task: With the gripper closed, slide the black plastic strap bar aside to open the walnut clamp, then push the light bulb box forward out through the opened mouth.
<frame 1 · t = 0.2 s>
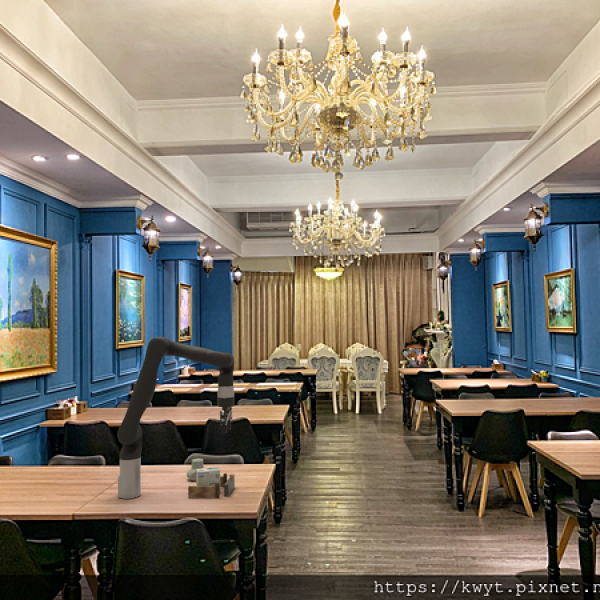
hand: (226, 431, 248), 29 cm above the table, tool pointing down, fingers open, 8 cm apart
air freshener: (197, 480, 275), on the table
strap bar: (229, 484, 252), point 4 cm above the table, slide at 0.0 cm
light bulb box: (208, 492, 252), on the table
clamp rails: (208, 492, 252), on the table
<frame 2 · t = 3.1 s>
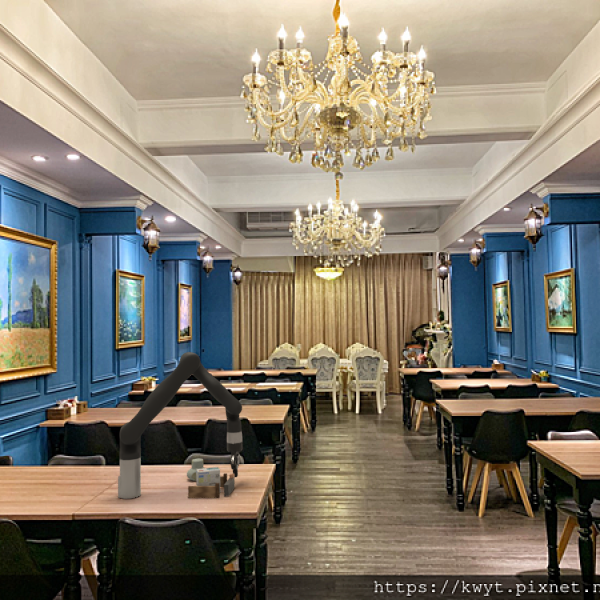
hand: (235, 476, 265), 4 cm above the table, tool pointing down, fingers closed
nothing on the table moved.
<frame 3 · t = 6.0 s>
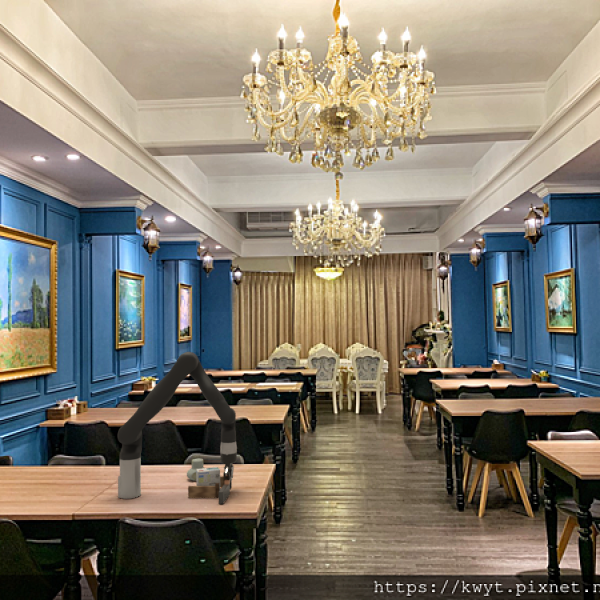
hand: (229, 489, 251), 1 cm above the table, tool pointing down, fingers closed
strap bar: (224, 491, 241), point 4 cm above the table, slide at 11.0 cm, touching hand
everything else where it was.
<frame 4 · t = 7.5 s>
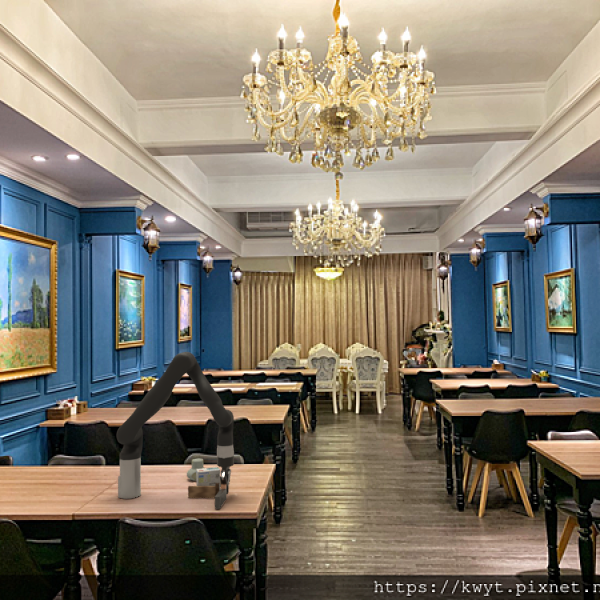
hand: (225, 493, 244), 2 cm above the table, tool pointing down, fingers closed
strap bar: (220, 496, 234), point 4 cm above the table, slide at 18.1 cm, touching hand
everything else where it was.
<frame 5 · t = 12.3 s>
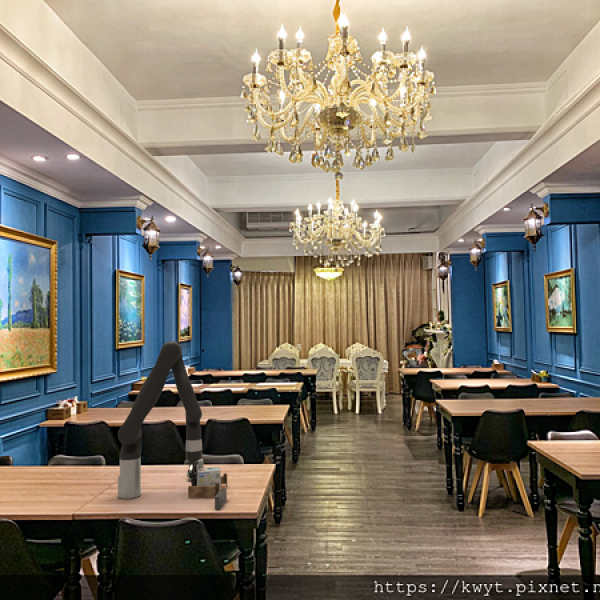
hand: (194, 486, 253), 3 cm above the table, tool pointing down, fingers closed
strap bar: (220, 496, 234), point 4 cm above the table, slide at 18.0 cm
light bulb box: (208, 492, 252), on the table, touching gripper
everything else where it was.
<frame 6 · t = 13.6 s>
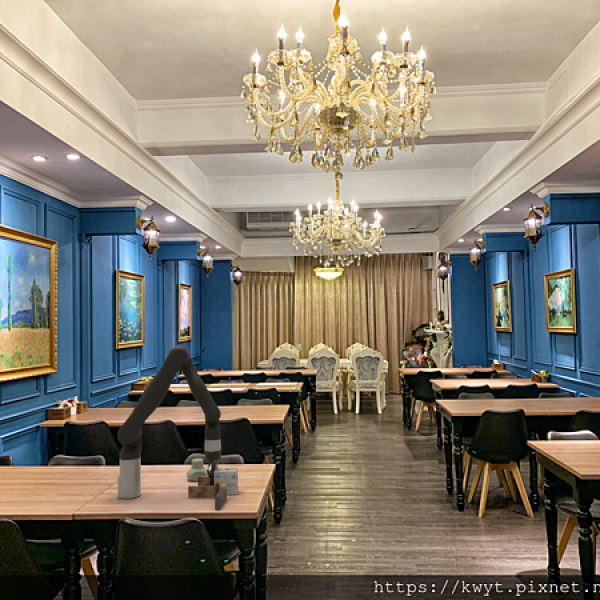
hand: (212, 486, 252), 3 cm above the table, tool pointing down, fingers closed
light bulb box: (226, 493, 250), on the table, touching hand
everything else where it was.
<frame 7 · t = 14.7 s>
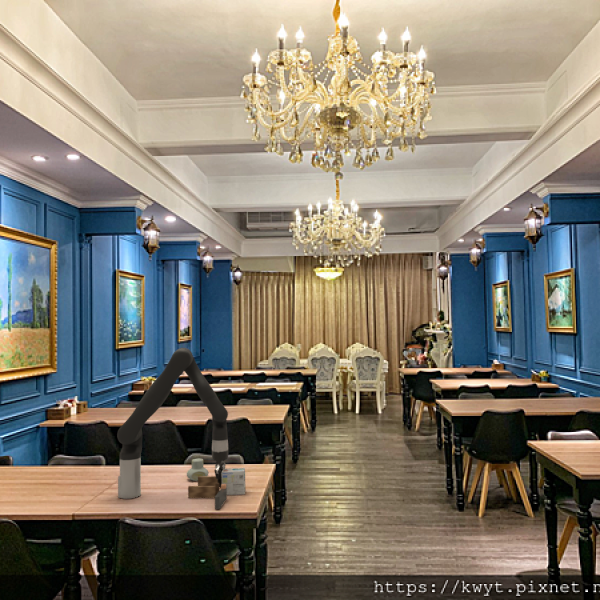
hand: (220, 487, 252), 2 cm above the table, tool pointing down, fingers closed
light bulb box: (233, 493, 250), on the table, touching hand
everything else where it was.
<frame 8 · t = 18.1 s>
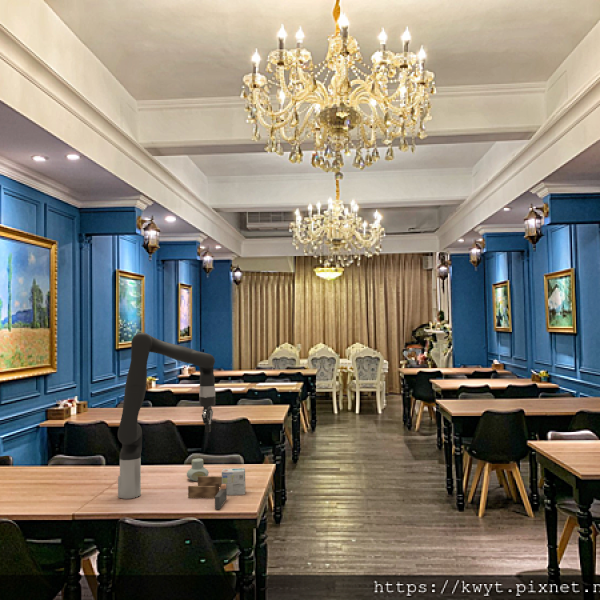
hand: (207, 432, 258), 27 cm above the table, tool pointing down, fingers closed
light bulb box: (233, 493, 250), on the table
everything else where it was.
at the end: strap bar slide at 18.0 cm; light bulb box inside the target area (2.6 cm from its centre), on the table; light bulb box tilted 0° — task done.
